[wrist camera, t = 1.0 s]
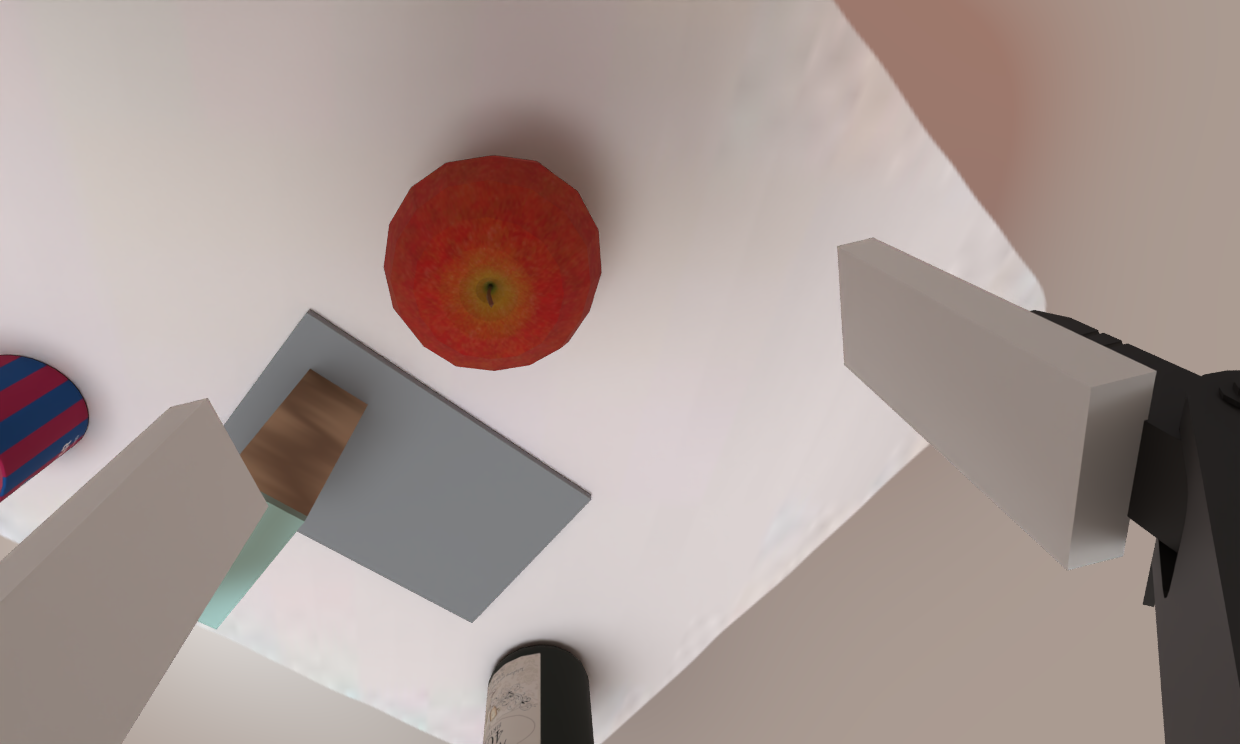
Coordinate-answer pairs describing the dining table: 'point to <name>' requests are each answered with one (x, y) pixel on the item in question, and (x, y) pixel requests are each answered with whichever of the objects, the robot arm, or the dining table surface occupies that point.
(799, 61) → the dining table surface
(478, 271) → the apple
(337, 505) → the mat
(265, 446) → the block
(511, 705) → the wine bottle
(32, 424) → the mug
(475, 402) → the dining table surface
